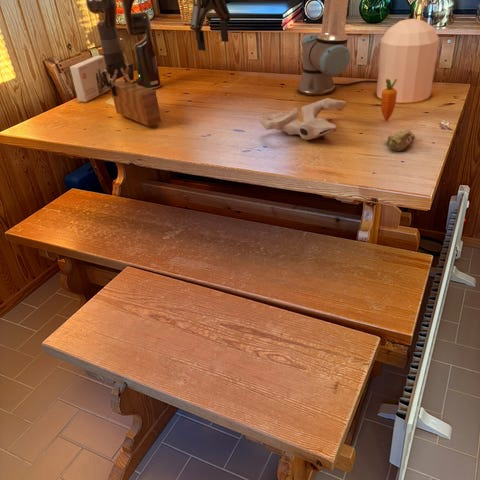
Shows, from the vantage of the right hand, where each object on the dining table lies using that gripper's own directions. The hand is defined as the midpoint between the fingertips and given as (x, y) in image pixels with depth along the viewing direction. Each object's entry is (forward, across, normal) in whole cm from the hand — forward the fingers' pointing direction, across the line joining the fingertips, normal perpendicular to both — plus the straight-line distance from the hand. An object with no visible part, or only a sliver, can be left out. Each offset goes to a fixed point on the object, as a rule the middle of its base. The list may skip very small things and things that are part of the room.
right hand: (213, 45), depth 168 cm
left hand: (+17, -15, +38) cm, 45 cm away
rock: (+27, +2, -71) cm, 76 cm away
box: (+25, -17, +29) cm, 42 cm away
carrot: (+27, +21, -59) cm, 68 cm away
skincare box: (+27, 0, +76) cm, 81 cm away
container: (+27, +51, -54) cm, 79 cm away
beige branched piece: (+27, -3, -41) cm, 49 cm away
